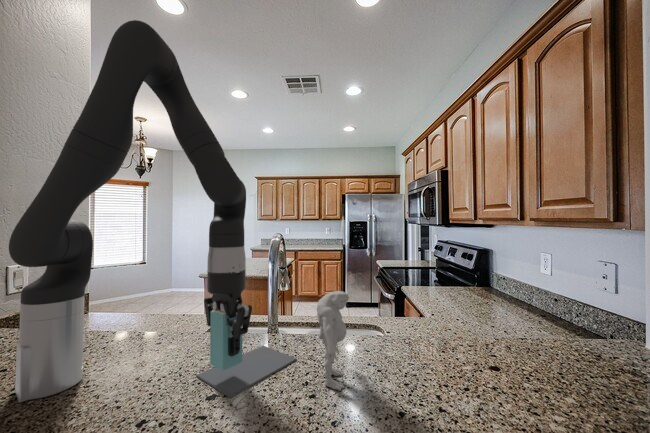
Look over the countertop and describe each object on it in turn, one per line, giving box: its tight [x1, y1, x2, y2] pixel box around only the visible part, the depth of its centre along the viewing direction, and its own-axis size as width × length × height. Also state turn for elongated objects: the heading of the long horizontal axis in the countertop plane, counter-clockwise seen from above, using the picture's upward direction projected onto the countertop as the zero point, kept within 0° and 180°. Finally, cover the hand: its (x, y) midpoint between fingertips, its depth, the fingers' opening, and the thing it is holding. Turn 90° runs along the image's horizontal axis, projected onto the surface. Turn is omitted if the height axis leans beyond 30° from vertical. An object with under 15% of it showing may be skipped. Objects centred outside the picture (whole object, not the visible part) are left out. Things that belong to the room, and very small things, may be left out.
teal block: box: [209, 310, 243, 371], centre depth 57 cm, size 4×4×11 cm
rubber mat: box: [196, 345, 298, 399], centre depth 62 cm, size 18×12×1 cm, turn 143°
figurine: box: [316, 290, 350, 392], centre depth 57 cm, size 18×7×18 cm, turn 1°
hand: (226, 350), depth 57 cm, fingers closed on teal block, 4 cm apart
